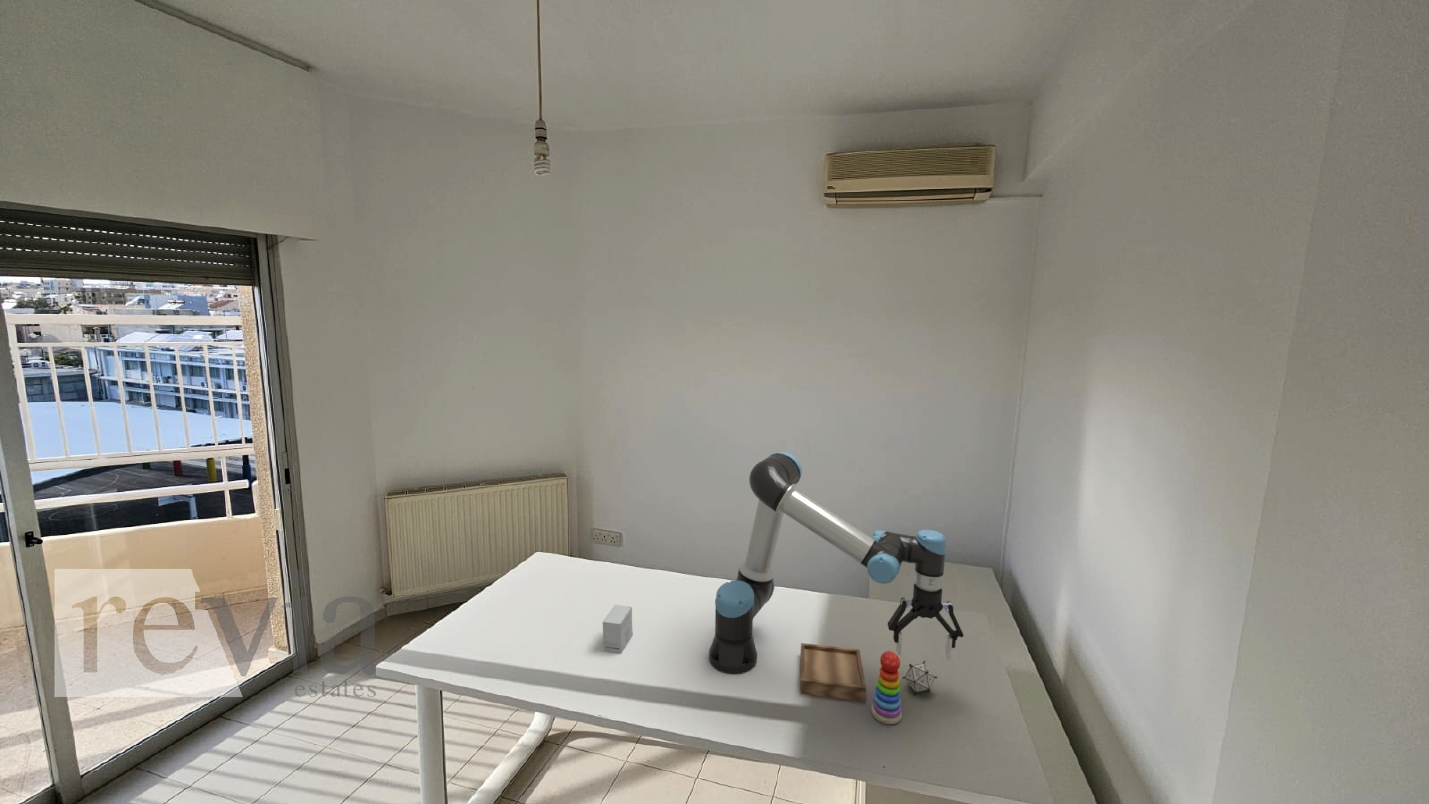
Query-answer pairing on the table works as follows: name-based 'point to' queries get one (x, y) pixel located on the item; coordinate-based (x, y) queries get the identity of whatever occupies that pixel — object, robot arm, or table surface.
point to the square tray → (832, 672)
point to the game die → (919, 677)
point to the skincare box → (617, 629)
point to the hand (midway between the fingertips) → (922, 654)
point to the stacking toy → (888, 691)
